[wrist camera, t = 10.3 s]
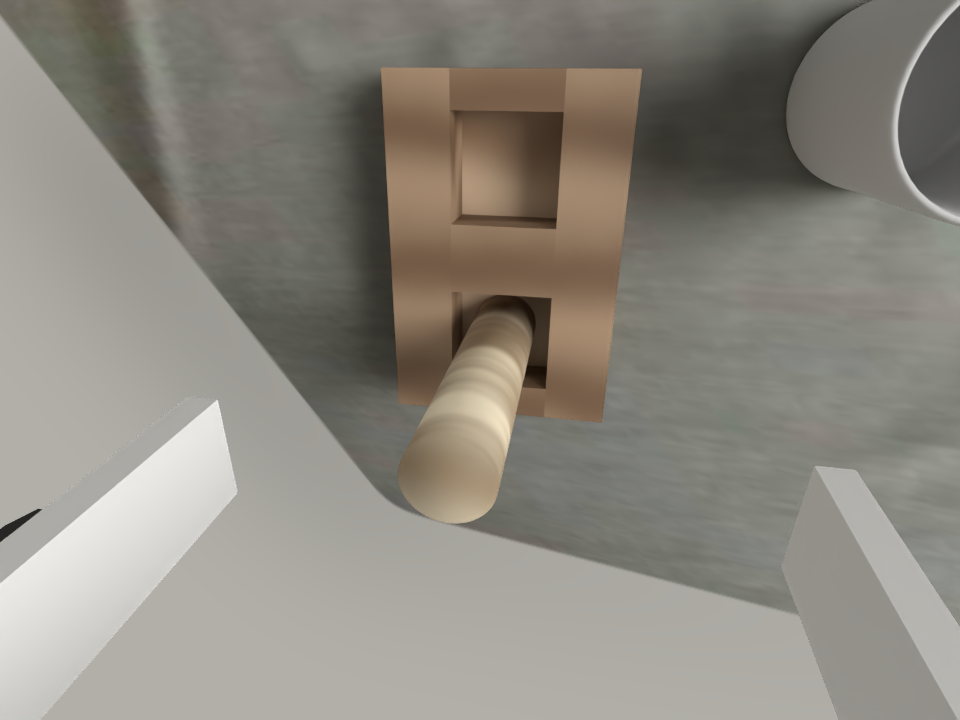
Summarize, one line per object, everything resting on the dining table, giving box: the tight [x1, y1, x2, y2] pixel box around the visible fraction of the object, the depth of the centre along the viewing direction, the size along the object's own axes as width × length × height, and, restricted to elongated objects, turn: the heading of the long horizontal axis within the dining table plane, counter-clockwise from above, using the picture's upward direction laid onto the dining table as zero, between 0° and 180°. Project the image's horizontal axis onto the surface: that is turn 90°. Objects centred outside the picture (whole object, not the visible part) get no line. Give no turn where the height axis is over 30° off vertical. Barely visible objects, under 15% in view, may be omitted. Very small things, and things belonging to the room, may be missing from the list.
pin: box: [398, 295, 536, 523], centre depth 27 cm, size 4×4×16 cm
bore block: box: [381, 68, 642, 422], centre depth 32 cm, size 18×12×4 cm, turn 0°
